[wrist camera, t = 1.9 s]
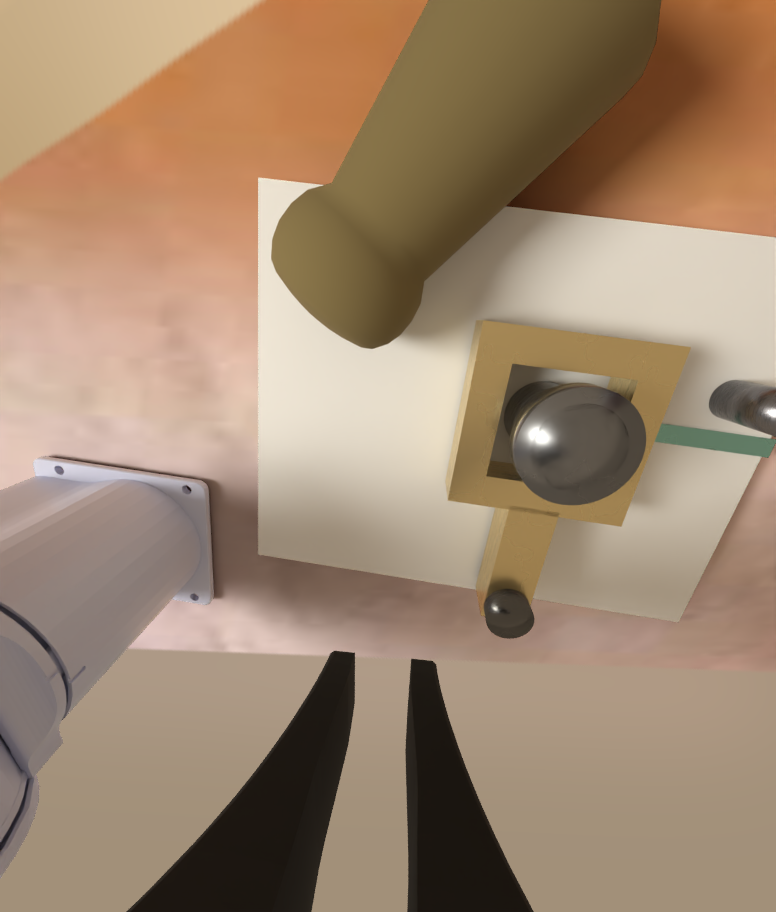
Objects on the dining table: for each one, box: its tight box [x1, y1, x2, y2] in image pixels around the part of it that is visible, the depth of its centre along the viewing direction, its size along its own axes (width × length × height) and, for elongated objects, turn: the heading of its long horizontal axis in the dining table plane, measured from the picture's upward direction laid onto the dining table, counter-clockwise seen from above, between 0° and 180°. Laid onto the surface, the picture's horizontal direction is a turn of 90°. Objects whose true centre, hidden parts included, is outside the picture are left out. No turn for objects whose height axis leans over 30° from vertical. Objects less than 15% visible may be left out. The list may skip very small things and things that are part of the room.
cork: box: [271, 0, 661, 349], centre depth 12 cm, size 6×6×11 cm
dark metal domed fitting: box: [504, 380, 776, 505], centre depth 15 cm, size 12×12×4 cm
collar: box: [445, 320, 691, 638], centre depth 16 cm, size 13×7×3 cm, turn 173°
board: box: [258, 178, 776, 622], centre depth 17 cm, size 22×17×1 cm
